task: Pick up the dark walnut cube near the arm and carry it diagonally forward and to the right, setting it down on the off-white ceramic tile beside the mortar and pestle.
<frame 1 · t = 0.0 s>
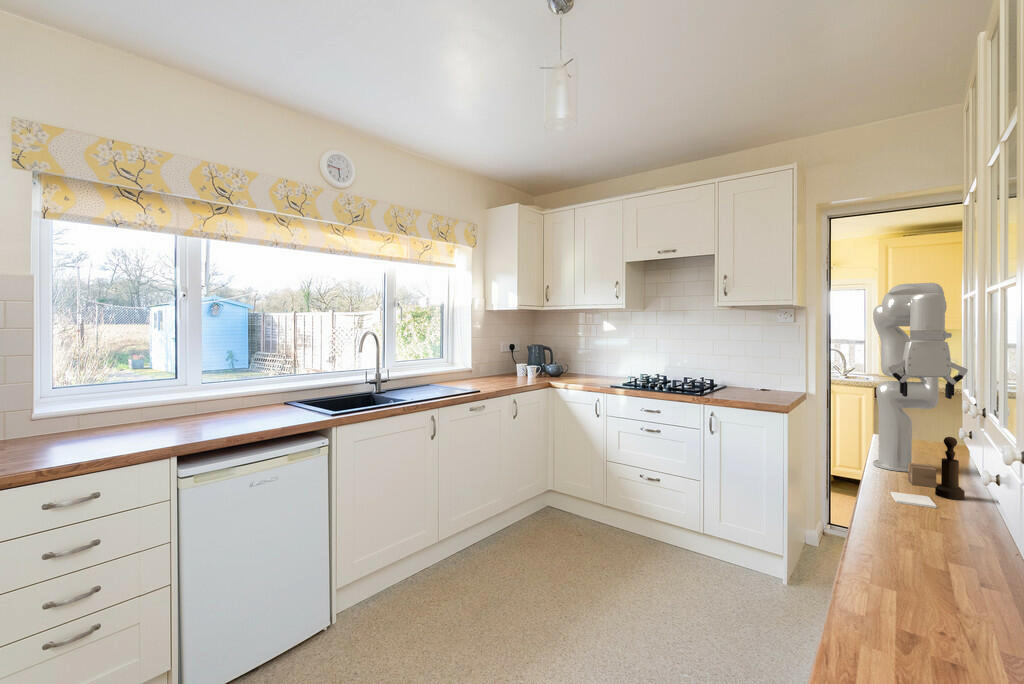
hand: (926, 397, 138), 31 cm above the countertop, fingers open, 9 cm apart
walnut cube: (921, 484, 158), on the countertop
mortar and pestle: (949, 497, 146), on the countertop
tile pad: (912, 500, 143), on the countertop
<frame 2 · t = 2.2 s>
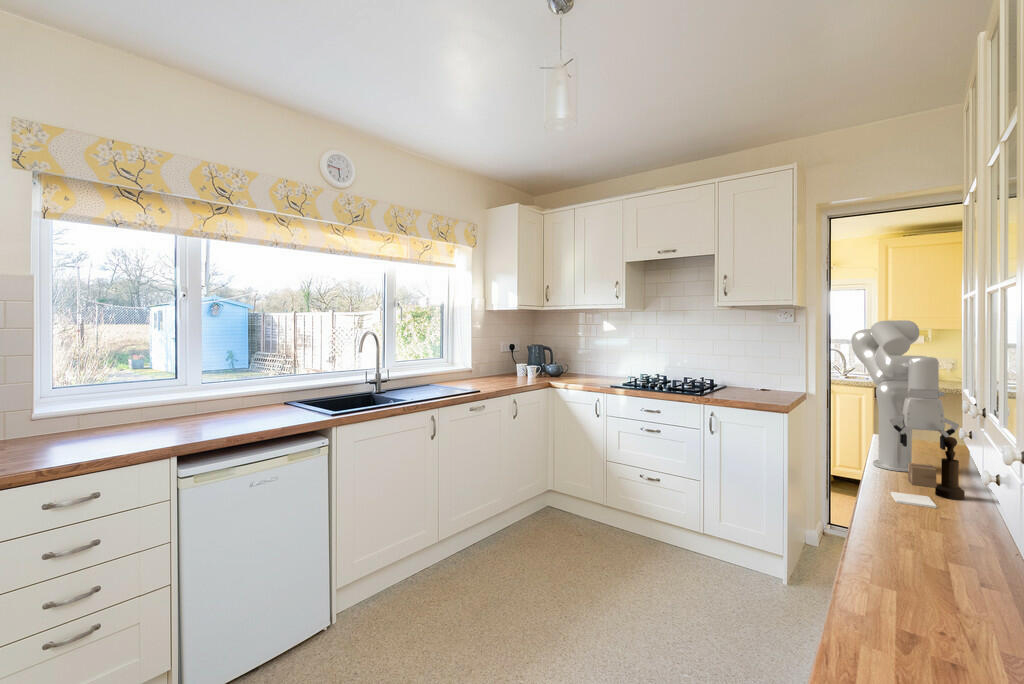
hand: (923, 447, 157), 12 cm above the countertop, fingers open, 9 cm apart
nothing on the countertop moved.
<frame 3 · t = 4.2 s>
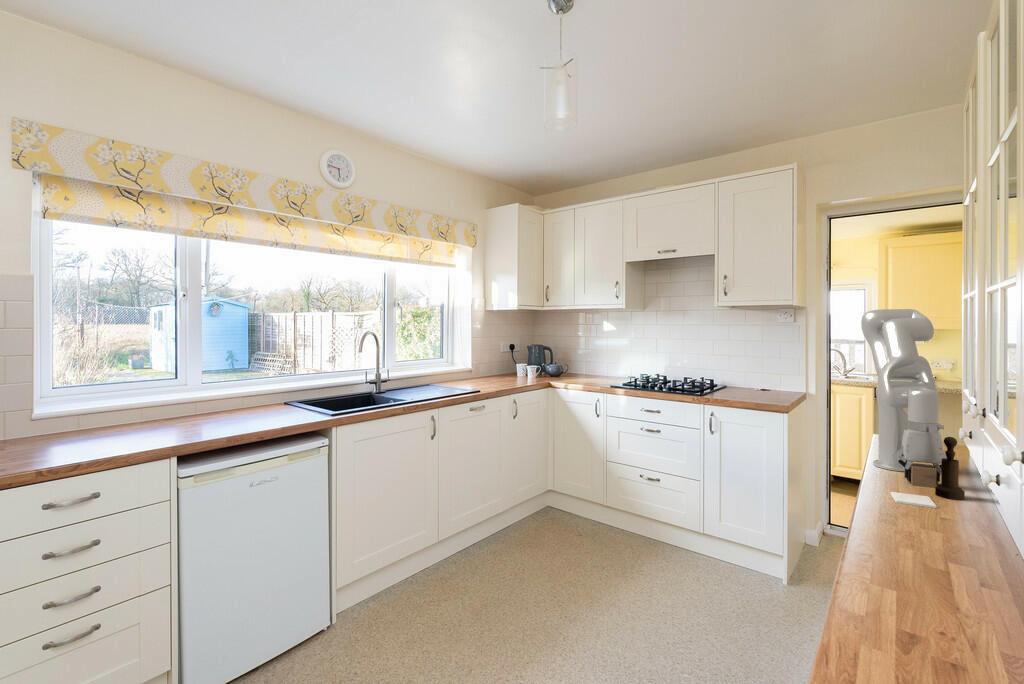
hand: (921, 481, 158), 1 cm above the countertop, fingers closed on walnut cube, 6 cm apart
walnut cube: (921, 484, 158), on the countertop, touching gripper
everything else where it was.
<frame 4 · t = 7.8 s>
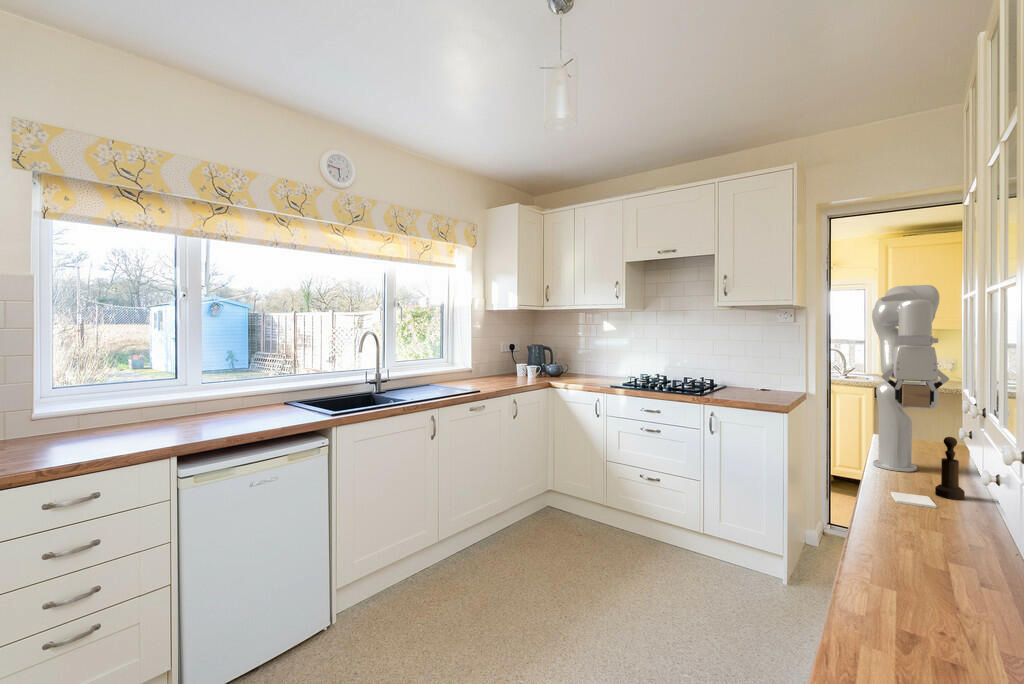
hand: (913, 402, 142), 29 cm above the countertop, fingers closed on walnut cube, 6 cm apart
walnut cube: (914, 405, 142), point 28 cm above the countertop, touching gripper
everything else where it was.
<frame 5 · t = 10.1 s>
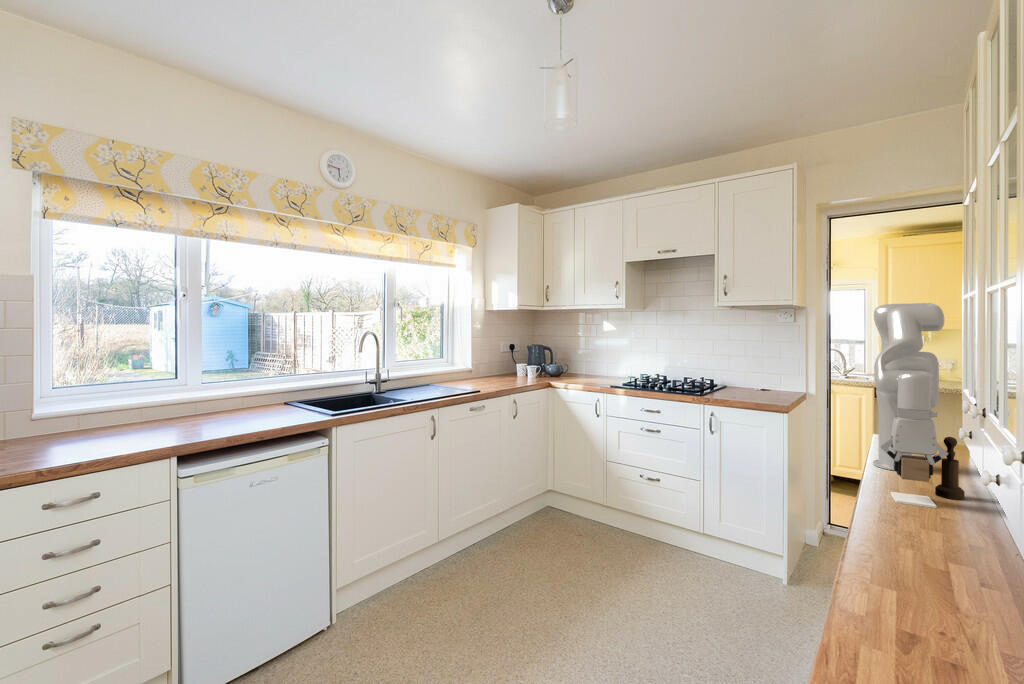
hand: (913, 475, 142), 8 cm above the countertop, fingers closed on walnut cube, 6 cm apart
walnut cube: (913, 477, 142), point 7 cm above the countertop, touching gripper
everything else where it was.
when the fingers open (2 cm above the countertop, at t = 11.7 s): walnut cube drops 1 cm, resting on tile pad.
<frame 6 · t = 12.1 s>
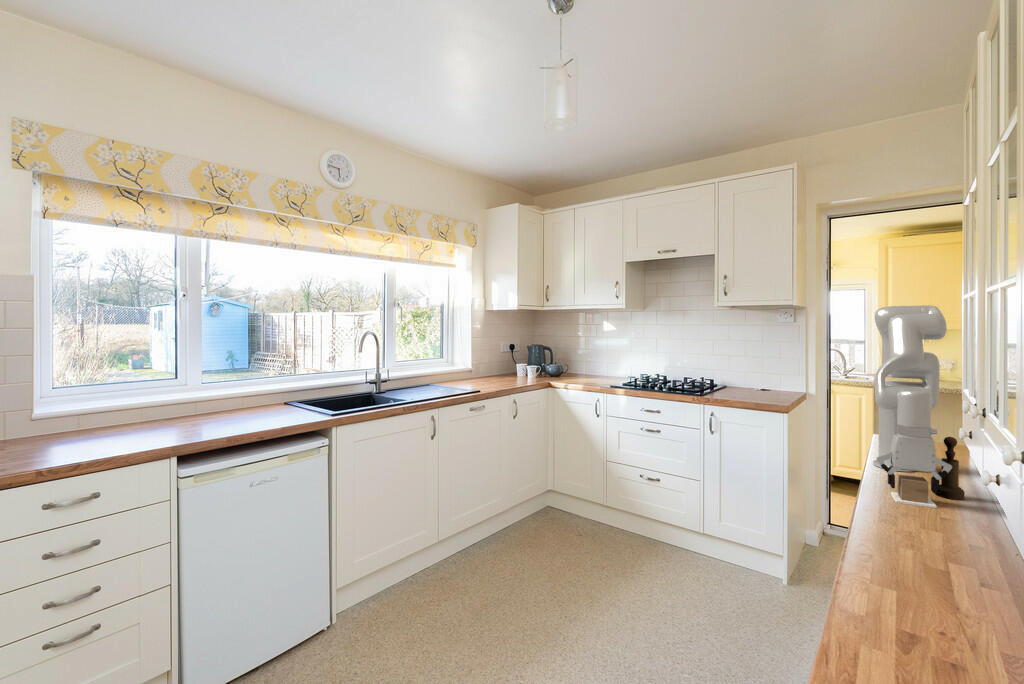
hand: (912, 489, 143), 3 cm above the countertop, fingers open, 9 cm apart
walnut cube: (912, 498, 143), point 1 cm above the countertop, touching tile pad
everything else where it was.
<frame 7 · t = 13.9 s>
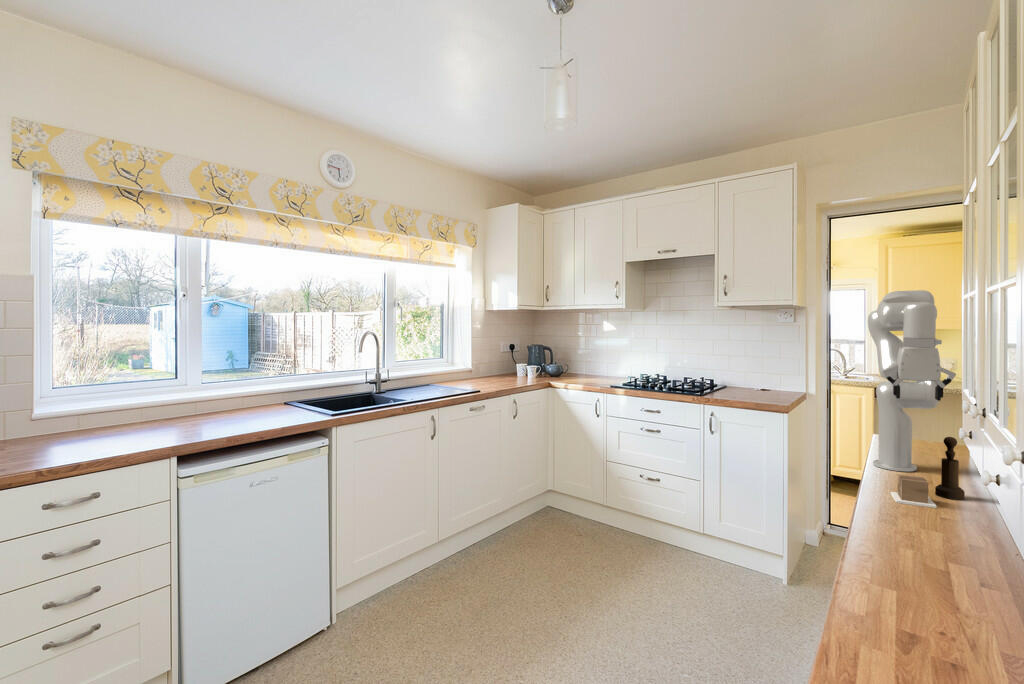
hand: (917, 398, 149), 29 cm above the countertop, fingers open, 9 cm apart
nothing on the countertop moved.
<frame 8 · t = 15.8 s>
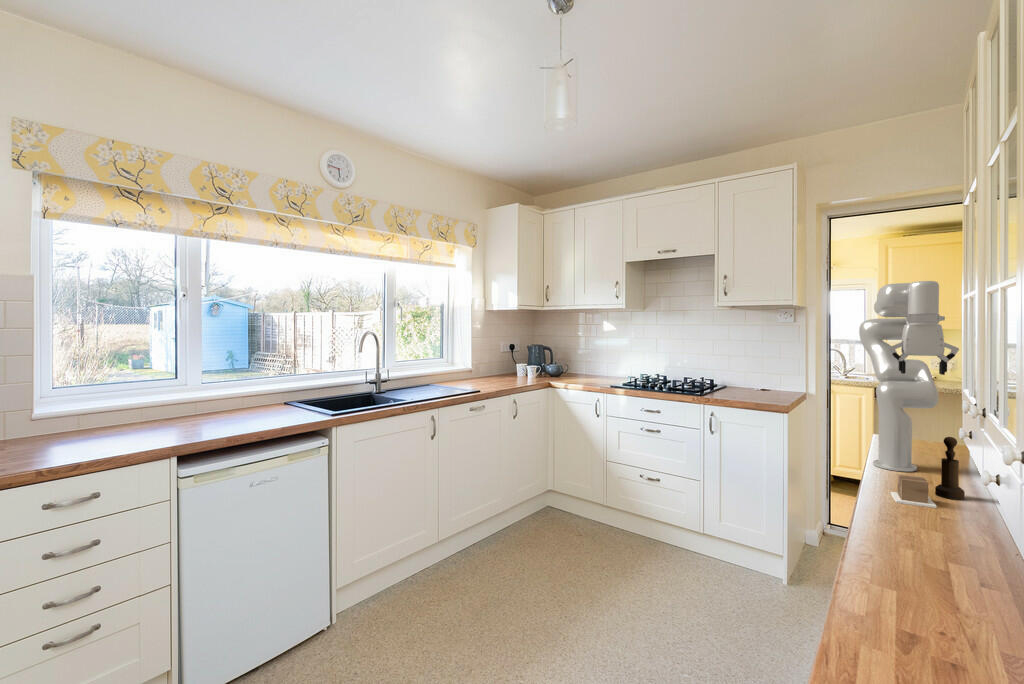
hand: (922, 373, 154), 36 cm above the countertop, fingers open, 9 cm apart
nothing on the countertop moved.
at the end: walnut cube inside the target area on the tile pad (0.1 cm from its centre), point 0.6 cm above the tile pad's base; walnut cube tilted 0°; the gripper is holding nothing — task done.
